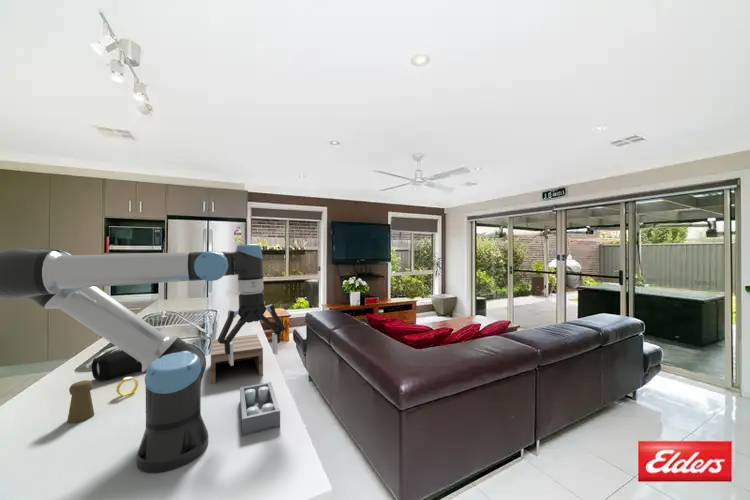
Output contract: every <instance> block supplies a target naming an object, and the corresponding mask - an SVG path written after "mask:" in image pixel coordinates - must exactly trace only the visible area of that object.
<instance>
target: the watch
mask: <svg viewBox="0 0 750 500" xmlns="http://www.w3.org/2000/svg"><path fill="white" fill-rule="evenodd" d="M132 380H133V381H134V383H135V385H134V387H133V389H132V390H131V391H130V392H125V393H123V394H122V393H121V392H120V387H121V385H122V384H123V383H124V382H129V381H132ZM138 387H139V382H138V380H137V379H136V378H135V377H133V376H126V377H123V378H122V380H121V381H120V382H119V383H118V384H117V386H116V393H117V394H118V395H119V396H121V397H124V396H125V397H126V396H128V395H132V394H133V393H135V392H136V391H137V390H138Z"/></svg>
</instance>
